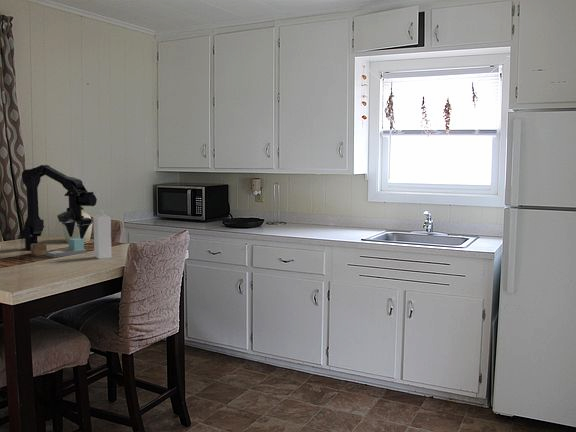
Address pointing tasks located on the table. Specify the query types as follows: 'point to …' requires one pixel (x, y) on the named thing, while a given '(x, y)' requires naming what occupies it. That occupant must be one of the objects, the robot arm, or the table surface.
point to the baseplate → (65, 253)
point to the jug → (76, 230)
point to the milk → (102, 235)
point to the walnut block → (38, 249)
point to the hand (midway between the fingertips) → (76, 237)
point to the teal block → (76, 244)
